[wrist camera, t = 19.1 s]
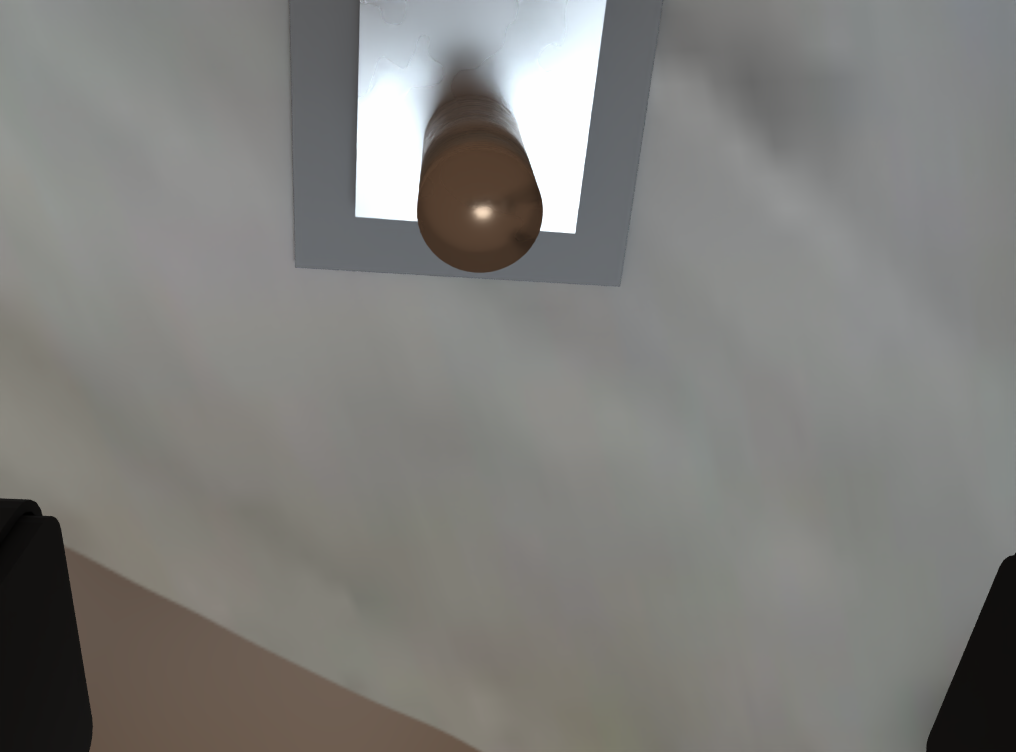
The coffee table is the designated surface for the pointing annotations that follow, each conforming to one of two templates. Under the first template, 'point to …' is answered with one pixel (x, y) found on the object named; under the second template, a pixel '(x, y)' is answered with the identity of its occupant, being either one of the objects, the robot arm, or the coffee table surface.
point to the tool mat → (398, 243)
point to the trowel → (476, 120)
